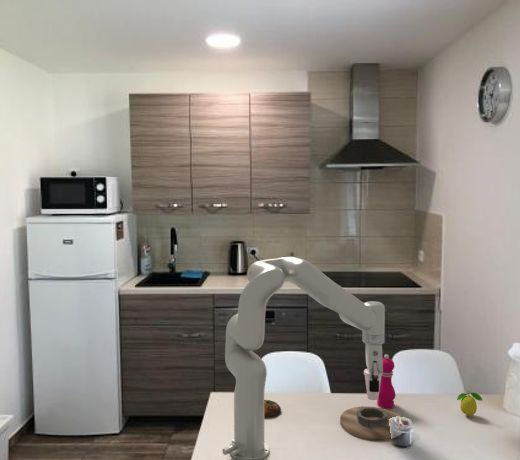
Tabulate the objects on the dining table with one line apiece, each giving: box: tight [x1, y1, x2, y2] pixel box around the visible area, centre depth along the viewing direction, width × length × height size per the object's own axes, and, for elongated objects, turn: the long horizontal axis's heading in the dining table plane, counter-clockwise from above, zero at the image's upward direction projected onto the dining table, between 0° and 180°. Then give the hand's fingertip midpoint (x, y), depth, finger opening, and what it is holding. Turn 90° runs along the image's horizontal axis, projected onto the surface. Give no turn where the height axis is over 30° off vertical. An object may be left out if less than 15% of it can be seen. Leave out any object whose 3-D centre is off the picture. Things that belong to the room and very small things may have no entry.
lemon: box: [456, 391, 483, 417], centre depth 177 cm, size 7×6×10 cm
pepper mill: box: [376, 353, 396, 410], centre depth 185 cm, size 7×7×20 cm
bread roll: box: [264, 399, 282, 418], centre depth 181 cm, size 11×11×5 cm
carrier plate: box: [339, 406, 399, 441], centre depth 171 cm, size 22×22×4 cm
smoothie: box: [363, 368, 383, 401], centre depth 170 cm, size 6×6×14 cm
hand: (372, 387), depth 170 cm, fingers closed on smoothie, 5 cm apart
